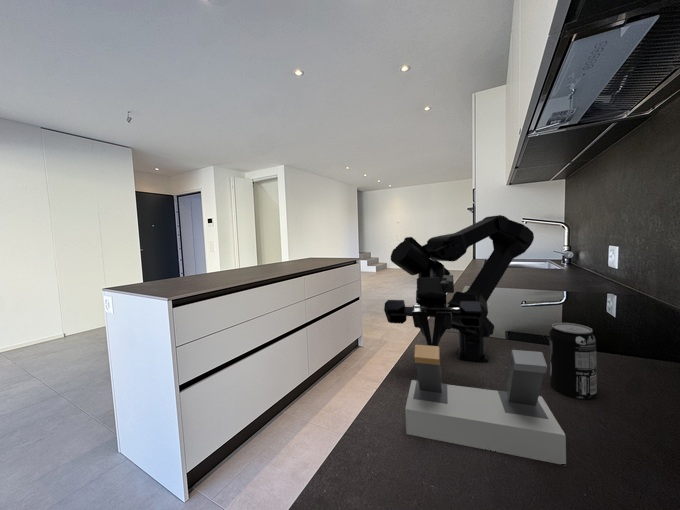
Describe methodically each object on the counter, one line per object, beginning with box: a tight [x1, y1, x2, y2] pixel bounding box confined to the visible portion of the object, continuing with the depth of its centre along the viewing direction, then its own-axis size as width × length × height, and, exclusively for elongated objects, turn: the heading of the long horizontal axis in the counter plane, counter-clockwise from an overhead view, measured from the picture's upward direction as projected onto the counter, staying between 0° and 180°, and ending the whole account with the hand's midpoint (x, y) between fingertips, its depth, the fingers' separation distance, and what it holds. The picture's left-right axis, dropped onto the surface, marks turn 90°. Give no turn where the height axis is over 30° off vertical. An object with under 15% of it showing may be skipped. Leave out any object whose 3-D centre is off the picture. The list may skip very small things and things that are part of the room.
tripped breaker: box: [413, 344, 443, 393], centre depth 43 cm, size 2×4×10 cm
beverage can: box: [548, 322, 598, 399], centre depth 51 cm, size 7×7×12 cm
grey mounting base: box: [404, 379, 567, 465], centre depth 42 cm, size 9×20×4 cm, turn 69°
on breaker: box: [506, 349, 548, 406], centre depth 39 cm, size 2×4×10 cm, turn 70°
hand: (432, 353), depth 50 cm, fingers closed
